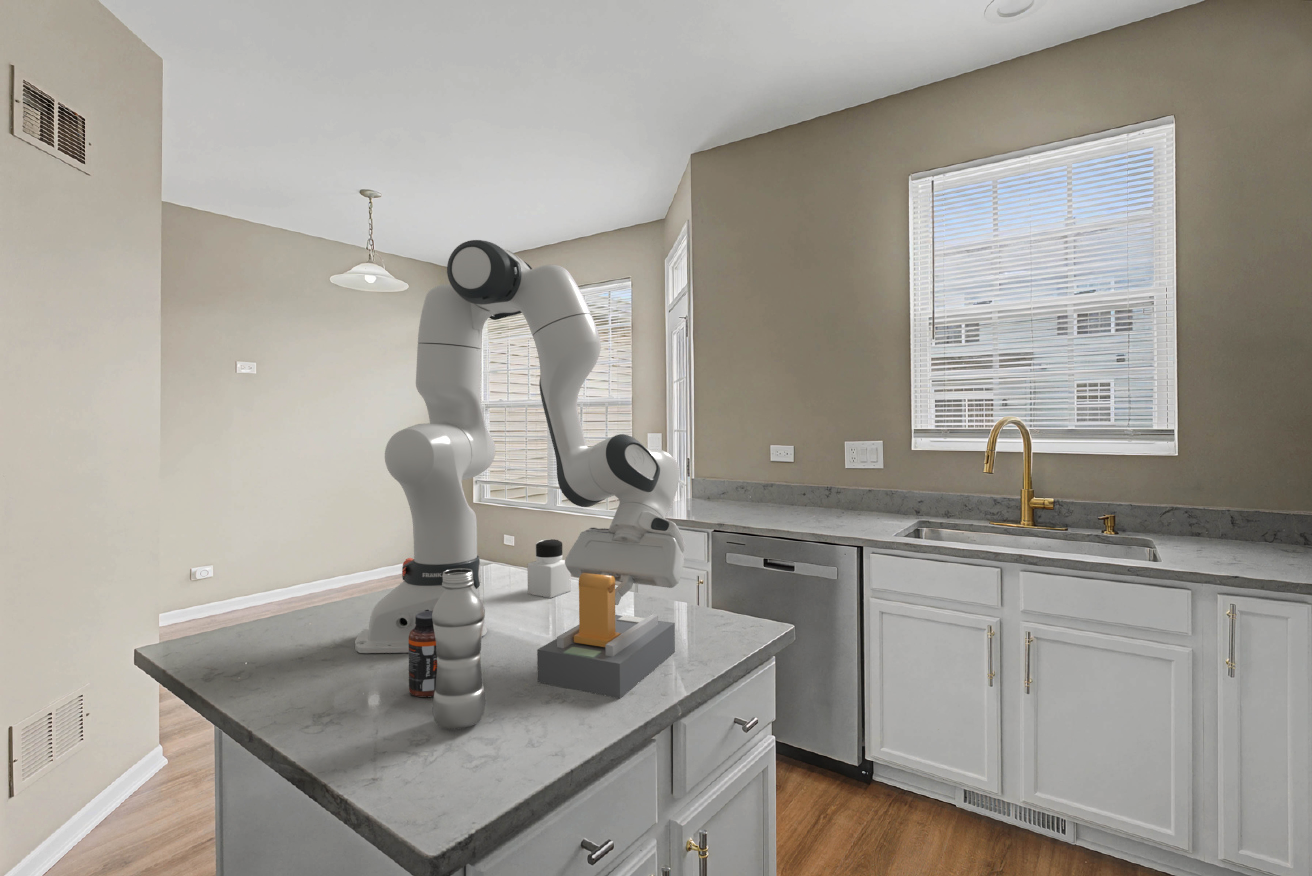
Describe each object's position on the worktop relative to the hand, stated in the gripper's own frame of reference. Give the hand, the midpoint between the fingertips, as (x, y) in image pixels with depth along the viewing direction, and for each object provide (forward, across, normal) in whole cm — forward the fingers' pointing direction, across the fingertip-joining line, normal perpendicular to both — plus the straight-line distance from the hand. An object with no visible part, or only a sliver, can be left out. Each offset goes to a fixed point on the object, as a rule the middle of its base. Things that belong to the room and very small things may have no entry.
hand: (608, 602), depth 103 cm
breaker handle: (+6, 0, +1) cm, 6 cm away
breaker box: (+7, 0, +8) cm, 10 cm away
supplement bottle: (+21, -20, -5) cm, 29 cm away
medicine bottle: (-16, -34, +31) cm, 49 cm away
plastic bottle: (+25, -8, -10) cm, 28 cm away
